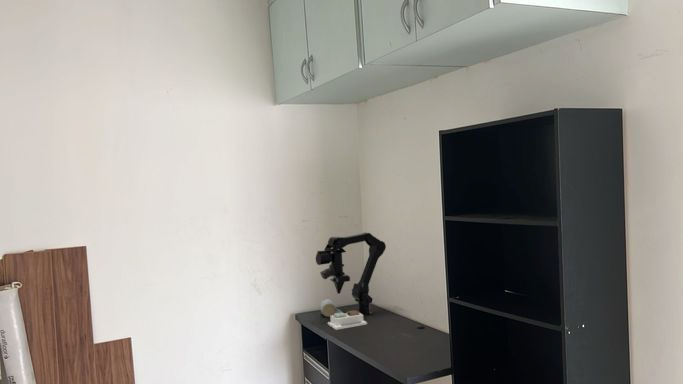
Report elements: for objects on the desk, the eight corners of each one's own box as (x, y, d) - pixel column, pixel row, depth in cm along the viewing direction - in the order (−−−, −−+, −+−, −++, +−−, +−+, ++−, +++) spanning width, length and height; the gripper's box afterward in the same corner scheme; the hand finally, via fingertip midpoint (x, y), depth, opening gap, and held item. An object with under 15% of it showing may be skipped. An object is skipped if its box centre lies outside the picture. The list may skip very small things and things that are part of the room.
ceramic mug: (322, 318, 278) (321, 303, 277) (320, 314, 286) (319, 299, 286) (342, 316, 279) (342, 301, 279) (340, 312, 287) (339, 298, 287)
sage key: (334, 319, 265) (333, 313, 265) (342, 318, 267) (342, 312, 267) (337, 321, 261) (337, 315, 261) (346, 320, 263) (345, 314, 262)
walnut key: (347, 317, 268) (347, 311, 267) (355, 316, 269) (355, 310, 269) (351, 319, 263) (350, 313, 263) (359, 318, 265) (359, 312, 265)
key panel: (327, 324, 266) (327, 316, 266) (358, 319, 272) (357, 311, 271) (335, 329, 256) (335, 321, 255) (367, 324, 261) (366, 316, 261)
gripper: (315, 261, 278) (317, 292, 279) (327, 266, 261) (329, 299, 261) (335, 259, 282) (337, 289, 283) (349, 264, 265) (351, 296, 265)
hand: (338, 293), depth 273 cm, fingers closed
